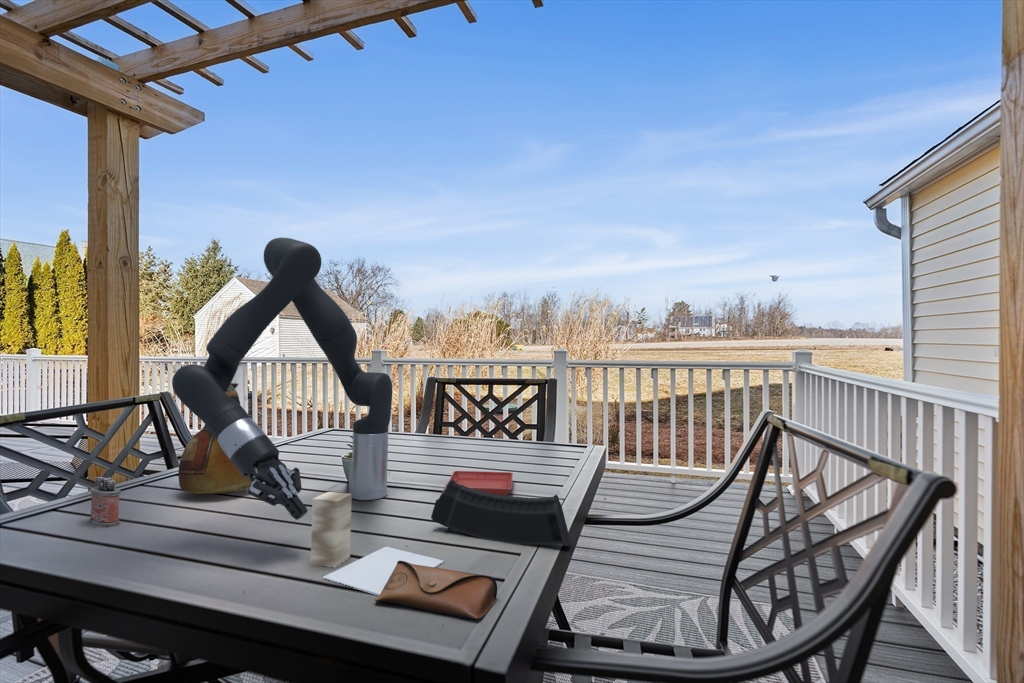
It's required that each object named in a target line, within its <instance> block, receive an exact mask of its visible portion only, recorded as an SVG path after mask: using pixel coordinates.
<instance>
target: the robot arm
mask: <svg viewBox="0 0 1024 683" xmlns="http://www.w3.org/2000/svg"><path fill="white" fill-rule="evenodd" d="M263 262H264V265H265V268H266V269H267V271H268V273H269V274H270V276H271V277H272V278H271V280H270V281H269V282H268V284H266V286H265V287H264V288H263V289H262V290H261V291H259V292H258V293H257V294H256V295H255V296H254V297H252V298H251V299H250V300H248V301H247V302H245V303H244V304H243V305H241V306H240V307H239V308H237V309H236V310H234V312H232V313H231V315H229V316H228V317H227V318H226V320H224V322H223V323H222V325H221V326H220V327H219V328H218V329H217V331H216V332H215V333H214V334H213V336H212V337H211V339H210V340H209V341H208V343H207V345H206V347H205V348H206V352H207V353H208V358H207V360H206V361H205V364H204V365H199V364H187V365H183V366H182V367H180V368H179V369H177V370H176V371H175V373H174V375H173V376H172V380H171V381H172V382H171V385H172V390H173V392H174V394H175V395H176V396H177V398H178V400H180V402H182V403H183V404H184V406H185V407H187V409H189V410H190V411H191V412H192V413H193V414H194V415H195V416H197V418H198V419H199V420H201V422H203V423H204V425H206V426H207V428H208V429H209V431H210V432H211V433H212V434H213V436H214V437H215V438H216V440H217V441H218V442H219V444H220V446H221V448H222V450H223V451H224V452H225V454H226V455H227V456H228V458H229V459H230V460H231V461H232V463H233V464H234V465H235V467H236V468H237V469H238V470H239V472H240V473H241V474H242V476H243V477H249V479H250V481H251V482H252V484H251V487H250V488H249V489H246V493H247V494H248V495H250V496H251V497H254V498H256V499H258V500H261V501H262V502H264V503H266V504H268V505H271V506H273V507H275V506H277V505H280V506H282V507H284V508H285V510H287V512H288V513H289V514H290V516H291V517H292V518H293V519H295V520H300V519H302V518H304V517H305V515H307V513H308V509H307V506H306V505H305V503H303V501H302V500H301V499H300V497H299V496H298V495H299V493H300V492H301V491H302V490H303V489H302V488H303V487H302V480H301V472H300V468H298V467H294V468H293V469H291V468H287V465H286V464H285V463H283V462H282V461H281V460H280V459H279V456H280V450H279V449H278V448H277V446H276V445H275V443H274V442H272V440H271V439H270V438H269V436H268V434H266V433H265V431H264V430H263V429H262V428H261V426H260V425H258V423H257V422H255V421H254V419H252V417H251V416H250V415H249V414H248V412H247V411H246V410H245V409H244V408H243V406H242V405H241V403H240V404H239V403H238V402H237V401H235V400H234V399H232V398H230V397H229V396H228V395H227V394H226V391H227V390H228V388H229V386H230V384H231V383H233V380H234V377H235V376H236V373H237V372H238V368H239V366H240V363H241V362H242V360H243V359H244V358H245V357H246V355H247V354H248V353H249V351H250V350H251V348H252V347H253V346H254V345H255V343H256V342H257V341H258V339H259V338H260V336H261V335H262V334H263V332H264V331H265V330H266V329H267V328H268V327H269V325H271V323H272V322H273V321H274V320H275V319H276V317H277V316H278V315H280V314H281V312H283V311H284V309H285V308H286V307H288V306H289V304H290V303H293V305H294V307H295V308H296V310H297V313H299V315H300V317H301V319H302V320H303V322H304V323H305V325H306V327H307V329H308V330H309V332H310V333H311V335H312V337H313V338H314V340H315V342H316V343H317V345H318V347H320V349H321V350H322V352H323V353H324V355H325V356H326V358H327V360H328V362H329V363H330V365H331V367H332V369H333V370H334V371H335V373H336V376H337V377H338V379H339V381H340V383H341V386H342V388H343V390H344V392H345V394H346V396H347V398H348V399H349V400H350V402H351V403H352V404H353V405H355V406H359V407H360V406H361V407H369V409H368V414H367V415H366V416H365V417H363V418H362V417H361V418H359V419H357V420H355V421H354V422H353V424H352V456H351V459H350V460H349V462H348V464H349V465H348V468H349V469H348V494H352V498H351V499H353V500H359V501H372V500H373V501H374V500H379V499H383V498H385V497H387V494H388V457H389V453H388V452H389V449H388V448H389V425H390V421H391V416H392V404H393V403H392V402H393V391H394V390H393V381H392V379H391V377H390V376H389V374H387V373H384V372H371V371H370V372H367V371H364V370H362V368H361V367H360V366H359V364H358V362H357V360H356V358H355V357H356V356H355V355H356V351H357V345H358V335H357V331H356V330H355V327H354V326H353V325H352V322H351V321H350V319H349V317H348V315H347V314H346V313H345V312H344V310H343V309H342V307H340V305H339V304H338V303H337V302H336V301H335V300H334V299H333V298H332V297H331V296H330V295H329V294H328V293H327V292H326V291H325V290H324V289H323V288H322V287H321V286H320V285H319V283H318V282H317V280H316V279H315V278H316V277H317V276H318V274H319V272H320V271H321V268H322V256H321V254H320V252H319V250H318V249H317V248H316V246H314V245H312V244H310V243H307V242H305V241H301V240H298V239H294V238H290V237H277V238H272V239H271V240H270V241H268V242H267V244H266V246H265V247H264V250H263Z"/></svg>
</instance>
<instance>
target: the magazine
mask: <svg viewBox="0 0 1024 683" xmlns="http://www.w3.org/2000/svg"><path fill="white" fill-rule="evenodd" d="M448 482H449V483H448ZM448 482H447V483H448V484H447V483H446V484H445V486H444V488H443V489H442V492H441V494H440V496H439V497H438V498H437V499H436V500H435V502H434V503H435V504H434V506H433V509H432V513H431V516H430V517H431V518H430V519H431V520H432V522H435V523H437V524H439V525H442V526H444V527H445V528H446V533H449V532H450V531H452V530H453V531H455V532H459V533H463V534H466V535H470V536H471V537H476V538H480V539H483V540H486V541H487V540H488V541H495V542H498V543H499V542H501V543H506V544H507V543H508V544H516V545H527V546H528V545H529V546H531V545H533V546H535V545H536V546H541V545H543V546H545V545H546V546H550V545H552V546H553V545H554V546H557V545H558V546H568V545H569V544H570V543H571V538H570V534H569V528H568V526H567V523H566V521H567V520H566V519H565V517H566V516H565V514H564V511H563V507H562V504H561V502H560V499H559V495H558V494H555V495H553V496H547V497H524V496H512V495H511V496H509V495H506V496H502V495H496V494H491V493H486V492H482V491H478V490H475V489H472V488H469V487H466V486H464V485H460V484H457V483H455V480H451V481H449V480H448ZM448 531H449V532H448Z"/></svg>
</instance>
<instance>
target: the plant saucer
mask: <svg viewBox="0 0 1024 683" xmlns="http://www.w3.org/2000/svg"><path fill="white" fill-rule="evenodd" d="M513 475H514V473H513V472H510V471H509V472H505V471H504V472H502V471H501V472H500V471H471V470H454V471H453V473H452V474H451V476H450V478H449V480H448V481H447V483H446V484H448V483H449V481H451V480H455V483H457V484H460V485H464V486H466V487H469V488H472V489H475V490H478V491H482V492H486V493H491V494H496V495H502V496H508V494H510V492H511V491H512V489H513V477H514V476H513Z"/></svg>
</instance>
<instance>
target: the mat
mask: <svg viewBox="0 0 1024 683" xmlns="http://www.w3.org/2000/svg"><path fill="white" fill-rule="evenodd" d="M398 561H405V562H408V563H411V564H415V565H422V566H429V567H436V568H438V567H439V566H440V564H441V565H442V564H444V563H445V560H442V559H438V558H435V557H431V556H426V555H421V554H419V553H414V552H410V551H406V550H401V549H397V548H393V547H389V546H384V547H381V548H380V549H377V550H376V551H374V552H372V553H369V554H367V555H365V556H363V557H361V558H360V559H359V558H358V559H357V560H355V561H353V562H351V563H349V564H346V565H345V566H342V567H340V568H338V569H337V570H334V571H332V572H330V573H328V574H326V575H324V576H322V579H323V580H325V579H327V580H326V581H328V580H330V581H329V582H332V581H333V583H335V582H337V583H336V584H338V583H341V584H340V585H342V584H344V585H343V586H345V585H347V586H346V587H348V586H350V587H349V588H351V587H353V588H352V589H355V590H359V591H361V592H365V593H369V594H371V595H375V596H377V597H378V596H379V595H380V594H381V592H382V590H383V588H384V586H385V585H386V583H387V581H388V579H389V577H390V576H391V574H392V572H393V570H394V569H395V567H396V565H397V562H398Z"/></svg>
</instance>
